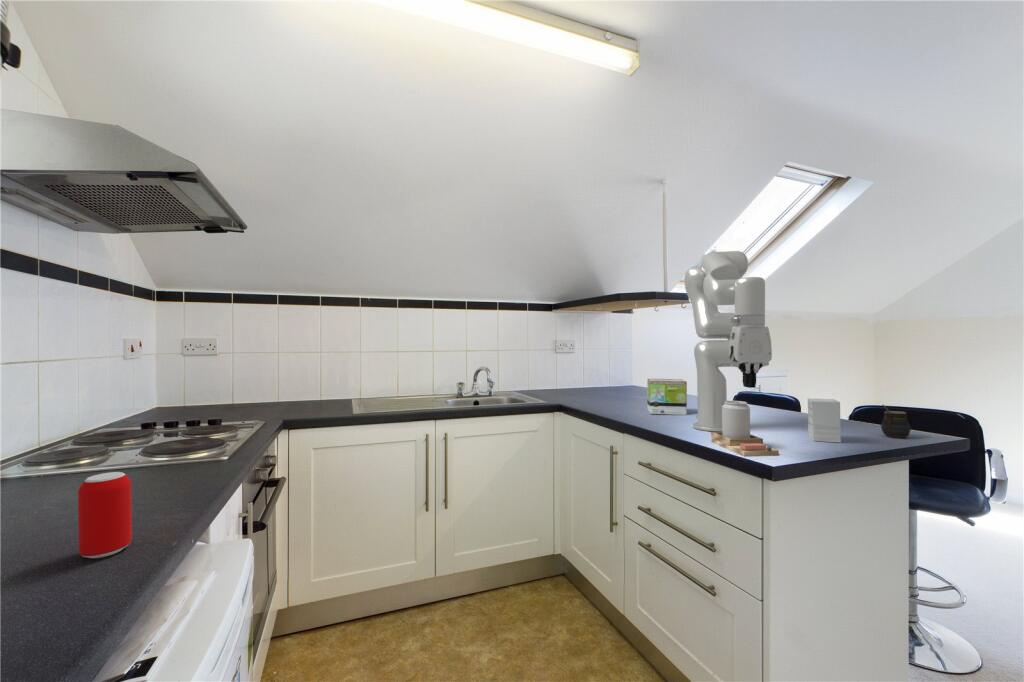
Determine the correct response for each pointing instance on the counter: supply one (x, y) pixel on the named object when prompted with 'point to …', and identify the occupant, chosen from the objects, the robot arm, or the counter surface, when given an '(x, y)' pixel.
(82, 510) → the beverage can
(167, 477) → the counter surface
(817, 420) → the supplement box
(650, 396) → the tea box
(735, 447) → the base
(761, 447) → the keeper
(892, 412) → the mate gourd
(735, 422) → the can
